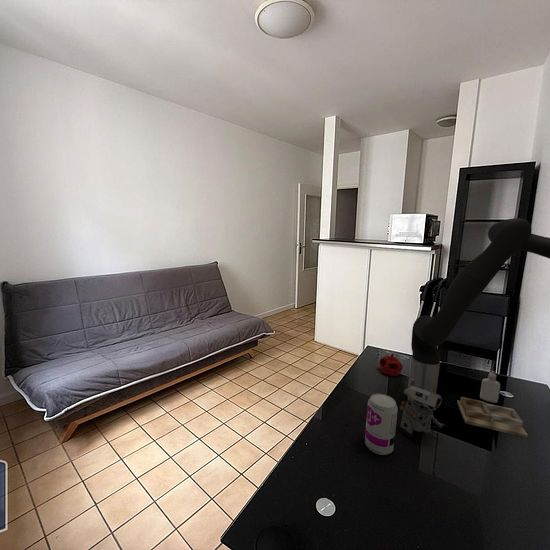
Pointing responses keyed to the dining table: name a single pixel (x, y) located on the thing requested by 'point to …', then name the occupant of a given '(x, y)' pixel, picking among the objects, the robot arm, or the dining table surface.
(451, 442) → the dining table surface
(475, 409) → the wooden compartment tray
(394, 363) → the pomegranate
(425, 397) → the figurine
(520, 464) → the dining table surface
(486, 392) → the eye dropper bottle
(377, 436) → the supplement can
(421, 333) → the robot arm
